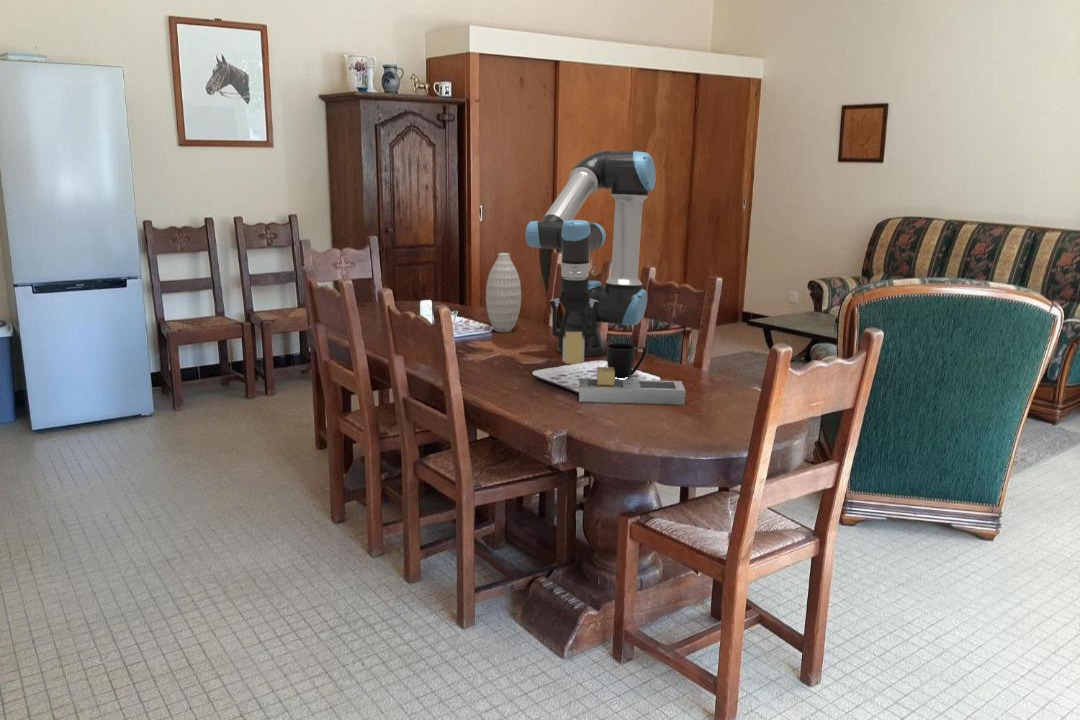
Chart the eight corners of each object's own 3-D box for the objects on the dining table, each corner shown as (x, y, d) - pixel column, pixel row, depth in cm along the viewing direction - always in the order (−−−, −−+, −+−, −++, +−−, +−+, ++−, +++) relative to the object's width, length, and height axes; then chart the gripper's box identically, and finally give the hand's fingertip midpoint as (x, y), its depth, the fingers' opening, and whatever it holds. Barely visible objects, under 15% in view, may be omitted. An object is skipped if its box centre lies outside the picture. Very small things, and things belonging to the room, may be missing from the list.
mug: (650, 379, 252) (651, 348, 249) (611, 381, 248) (612, 350, 246) (639, 372, 259) (640, 341, 257) (601, 374, 256) (603, 343, 254)
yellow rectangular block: (565, 359, 243) (565, 331, 241) (581, 359, 242) (581, 331, 240) (565, 363, 238) (565, 335, 236) (581, 363, 238) (581, 335, 236)
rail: (578, 392, 237) (579, 378, 236) (680, 395, 236) (681, 381, 236) (579, 401, 229) (579, 387, 228) (684, 404, 228) (685, 390, 227)
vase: (506, 325, 322) (507, 250, 315) (527, 331, 312) (528, 254, 306) (478, 329, 314) (479, 252, 307) (499, 335, 305) (500, 256, 298)
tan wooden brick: (596, 395, 235) (597, 367, 233) (612, 395, 235) (613, 367, 233) (596, 400, 231) (597, 371, 229) (613, 400, 231) (614, 371, 229)
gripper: (542, 279, 231) (541, 363, 237) (607, 280, 230) (605, 364, 236) (543, 274, 238) (542, 355, 244) (606, 275, 237) (604, 357, 244)
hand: (573, 359), depth 240 cm, fingers closed on yellow rectangular block, 4 cm apart
